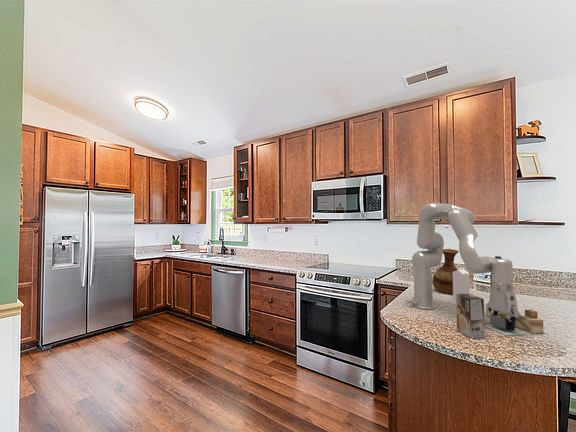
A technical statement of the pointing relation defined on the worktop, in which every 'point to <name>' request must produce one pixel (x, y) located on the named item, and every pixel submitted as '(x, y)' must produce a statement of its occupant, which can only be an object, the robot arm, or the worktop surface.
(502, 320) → the lever cap
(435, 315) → the worktop surface
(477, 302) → the coffee box
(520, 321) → the body
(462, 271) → the milk
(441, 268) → the brown ceramic vase
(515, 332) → the mat
